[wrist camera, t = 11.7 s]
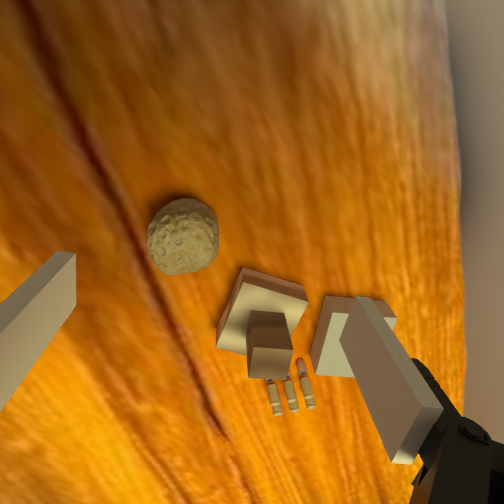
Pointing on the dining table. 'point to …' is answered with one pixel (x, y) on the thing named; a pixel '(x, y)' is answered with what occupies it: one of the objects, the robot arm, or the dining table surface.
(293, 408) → the ammunition
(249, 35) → the dining table surface
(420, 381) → the robot arm
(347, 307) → the grey painted block
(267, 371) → the walnut block
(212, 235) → the coral
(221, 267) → the dining table surface
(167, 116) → the dining table surface
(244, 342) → the pale oak block
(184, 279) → the dining table surface
